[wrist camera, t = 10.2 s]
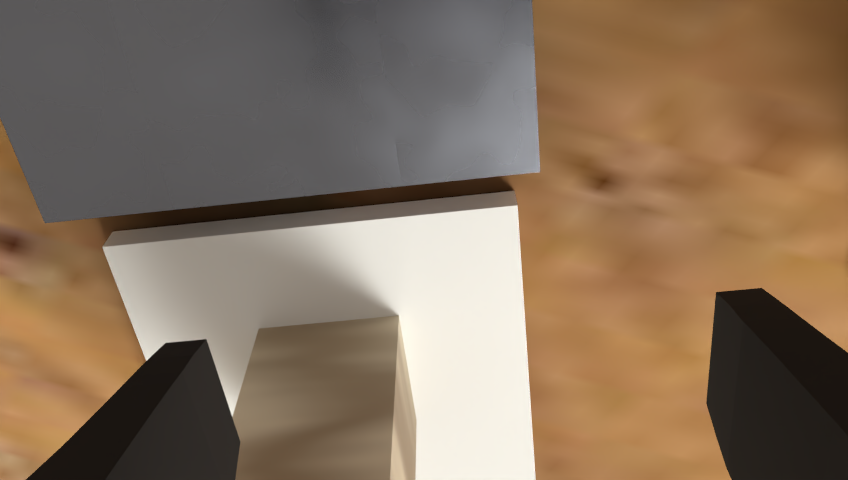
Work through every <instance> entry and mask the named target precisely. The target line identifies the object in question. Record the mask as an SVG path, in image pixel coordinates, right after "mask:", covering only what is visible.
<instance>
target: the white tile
mask: <svg viewBox="0 0 848 480" xmlns="http://www.w3.org/2000/svg"><path fill="white" fill-rule="evenodd" d="M102 248H103V250H104V253H105V255H106V258H107V261H108V263H109V266H110V268H111V271H112V274H113V276H114V279H115V281H116V284H117V286H118V289H119V292H120V294H121V297H122V299H123V302H124V305H125V307H126V310H127V312H128V315H129V317H130V320H131V323H132V325H133V328H134V330H135V333H136V336H137V338H138V341H139V343H140V346H141V348H142V351H143V354H144V356H145V359H146V361H147V360H148V359H149V358H150V357H151V356H152V355H153V354H154V353H155V352H156V351H157V350H158V349H159V348H161V347H162V346H163V345H164V344H165V343H169V342H180V341H191V340H202V339H207V342H208V345H209V348H210V351H211V354H212V357H213V360H214V363H215V366H216V369H217V372H218V375H219V378H220V381H221V385H222V388H223V391H224V394H225V397H226V400H227V403H228V406H229V409H230V412H231V415H232V417H233V413H234V410H235V407H236V403H237V400H238V396H239V393H240V390H241V386H242V383H243V380H244V376H245V373H246V370H247V366H248V363H249V359H250V356H251V353H252V349H253V346H254V343H255V339H256V336H257V333H258V329H260V328H270V327H281V326H292V325H303V324H313V323H324V322H335V321H346V320H356V319H367V318H378V317H389V316H399V319H400V325H401V331H402V337H403V343H404V349H405V354H406V360H407V366H408V372H409V378H410V384H411V390H412V396H413V402H414V408H415V414H416V420H417V426H416V479H415V480H536V479H535V464H534V449H533V434H532V419H531V403H530V388H529V373H528V358H527V343H526V328H525V313H524V297H523V282H522V267H521V252H520V237H519V222H518V206H517V201H516V195H515V191H507V192H497V193H487V194H477V195H467V196H458V197H448V198H438V199H428V200H418V201H409V202H399V203H389V204H379V205H369V206H359V207H350V208H340V209H330V210H320V211H310V212H301V213H291V214H281V215H271V216H261V217H252V218H242V219H232V220H222V221H212V222H202V223H193V224H183V225H173V226H163V227H153V228H144V229H134V230H124V231H114V232H112V233H111V235H110V236H109V238H108V239H107V241H106V242H105V244H104V245H103V247H102Z"/></svg>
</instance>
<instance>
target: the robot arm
mask: <svg viewBox="0 0 848 480" xmlns="http://www.w3.org/2000/svg"><path fill="white" fill-rule="evenodd" d="M707 407H708V410H709V413H710V417H711V420H712V423H713V427H714V430H715V433H716V437H717V440H718V443H719V446H720V449H721V452H722V455H723V458H724V461H725V464H726V467H727V470H728V472H729V474H730V477H731V479H732V480H848V353H847V352H846V351H845V350H843V349H842V348H841V347H839V346H838V345H836V344H835V343H834V342H832V341H831V340H830V339H829V338H827V337H826V336H825V335H823V334H822V333H821V332H819V331H818V330H817V329H815V328H814V327H813V326H811V325H810V324H809V323H807V322H806V321H805V320H803V319H802V318H801V317H800V316H798V315H797V314H796V313H794V312H793V311H792V310H790V309H789V308H788V307H786V306H785V305H784V304H783V303H781V302H780V301H779V300H777V299H776V298H775V297H773V296H772V295H770V294H769V293H768V292H766V291H765V290H764V289H762V288H757V289H746V290H735V291H725V292H716V300H715V312H714V323H713V334H712V346H711V357H710V369H709V380H708V391H707ZM239 449H240V439H239V436H238V433H237V430H236V427H235V424H234V421H233V418H232V415H231V412H230V409H229V406H228V403H227V400H226V397H225V394H224V391H223V388H222V385H221V381H220V378H219V375H218V372H217V369H216V366H215V363H214V360H213V357H212V354H211V351H210V348H209V345H208V342H207V339H202V340H191V341H180V342H169V343H165V344H164V345H163V346H162V347H161V348H159V349H158V350H157V351H156V352H155V353H154V354H153V355H152V356H151V357H150V358H149V359H148V360H147V361H146V362H145V363H144V364H143V365H142V366H141V367H140V368H139V369H138V370H137V371H136V372H135V373H134V374H133V375H132V376H131V377H130V378H129V379H128V380H127V381H126V383H125V384H124V385H123V386H122V387H121V388H120V389H119V390H118V391H117V392H116V393H115V394H114V395H113V396H112V397H111V398H110V399H109V400H108V401H107V402H106V403H105V404H104V405H103V406H102V407H101V408H100V409H99V410H98V411H97V412H96V413H95V414H94V415H93V416H92V417H91V418H90V419H89V420H88V421H87V422H86V423H85V424H84V425H83V426H82V427H81V428H80V429H79V430H78V431H77V432H76V433H75V434H74V435H73V436H72V437H71V438H70V439H69V440H68V441H67V442H66V443H65V444H64V445H63V446H62V447H61V448H60V449H59V450H58V451H57V452H55V453H54V454H53V455H52V456H51V457H50V458H49V459H48V460H47V461H46V462H45V463H44V464H42V465H41V466H40V467H39V468H38V469H37V470H36V471H35V472H34V473H33V474H32V475H31V476H29V477H28V478H27V479H26V480H235V478H236V471H237V463H238V456H239Z"/></svg>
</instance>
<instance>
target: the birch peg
mask: <svg viewBox="0 0 848 480" xmlns="http://www.w3.org/2000/svg"><path fill="white" fill-rule="evenodd" d="M232 418H233V421H234V424H235V427H236V430H237V433H238V436H239V439H240V449H239V456H238V463H237V471H236V478H235V480H415V479H416V426H417V420H416V414H415V408H414V402H413V396H412V390H411V384H410V378H409V372H408V366H407V360H406V354H405V349H404V343H403V337H402V331H401V325H400V319H399V316H389V317H378V318H367V319H356V320H346V321H335V322H324V323H313V324H303V325H292V326H281V327H270V328H260V329H258V333H257V336H256V339H255V343H254V346H253V349H252V353H251V356H250V359H249V363H248V366H247V370H246V373H245V376H244V380H243V383H242V386H241V390H240V393H239V396H238V400H237V403H236V407H235V410H234V413H233V417H232Z"/></svg>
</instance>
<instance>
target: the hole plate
mask: <svg viewBox="0 0 848 480" xmlns="http://www.w3.org/2000/svg"><path fill="white" fill-rule="evenodd" d="M0 118H1V121H2V123H3V125H4V128H5V130H6V132H7V135H8V137H9V140H10V142H11V144H12V147H13V149H14V151H15V154H16V156H17V158H18V161H19V163H20V166H21V168H22V170H23V173H24V175H25V177H26V180H27V182H28V184H29V187H30V189H31V191H32V194H33V196H34V199H35V201H36V203H37V206H38V208H39V210H40V213H41V215H42V217H43V220H44V222H45V223H51V222H60V221H70V220H80V219H89V218H99V217H109V216H119V215H128V214H138V213H148V212H157V211H167V210H177V209H186V208H196V207H206V206H215V205H225V204H235V203H245V202H254V201H264V200H274V199H283V198H293V197H303V196H312V195H322V194H332V193H341V192H351V191H361V190H370V189H380V188H390V187H400V186H409V185H419V184H429V183H438V182H448V181H458V180H467V179H477V178H487V177H496V176H506V175H516V174H525V173H535V172H540V160H539V139H538V118H537V97H536V76H535V56H534V35H533V14H532V0H0Z"/></svg>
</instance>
